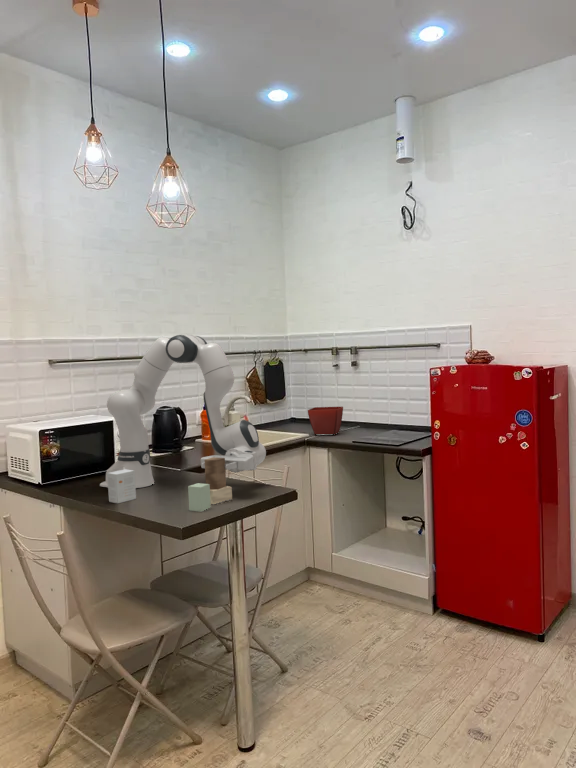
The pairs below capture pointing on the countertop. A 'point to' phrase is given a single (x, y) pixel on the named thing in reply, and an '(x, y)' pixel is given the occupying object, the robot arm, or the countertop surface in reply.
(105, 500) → the countertop surface
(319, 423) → the plant pot
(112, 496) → the small box
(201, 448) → the countertop surface
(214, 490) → the beech block
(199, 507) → the sage green block
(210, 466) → the walnut block
